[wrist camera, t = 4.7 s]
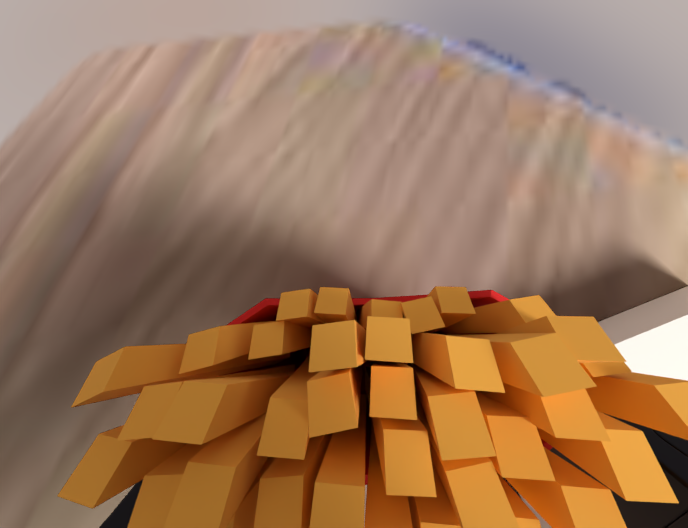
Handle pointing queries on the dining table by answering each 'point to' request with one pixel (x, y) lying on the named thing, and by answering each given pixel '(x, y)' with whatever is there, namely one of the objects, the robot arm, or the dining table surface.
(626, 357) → the white flat square block
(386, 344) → the french fries
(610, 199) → the dining table surface
